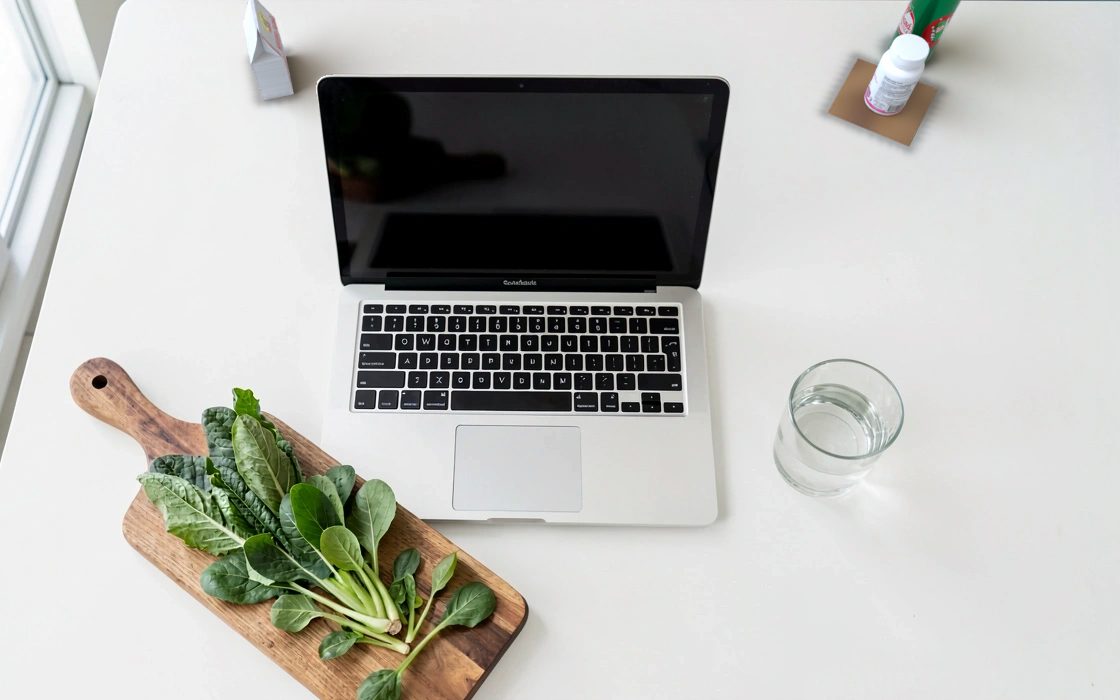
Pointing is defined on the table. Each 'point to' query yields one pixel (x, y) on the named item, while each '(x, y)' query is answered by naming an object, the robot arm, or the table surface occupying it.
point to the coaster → (857, 112)
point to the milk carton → (266, 52)
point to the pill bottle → (897, 75)
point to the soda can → (926, 20)
